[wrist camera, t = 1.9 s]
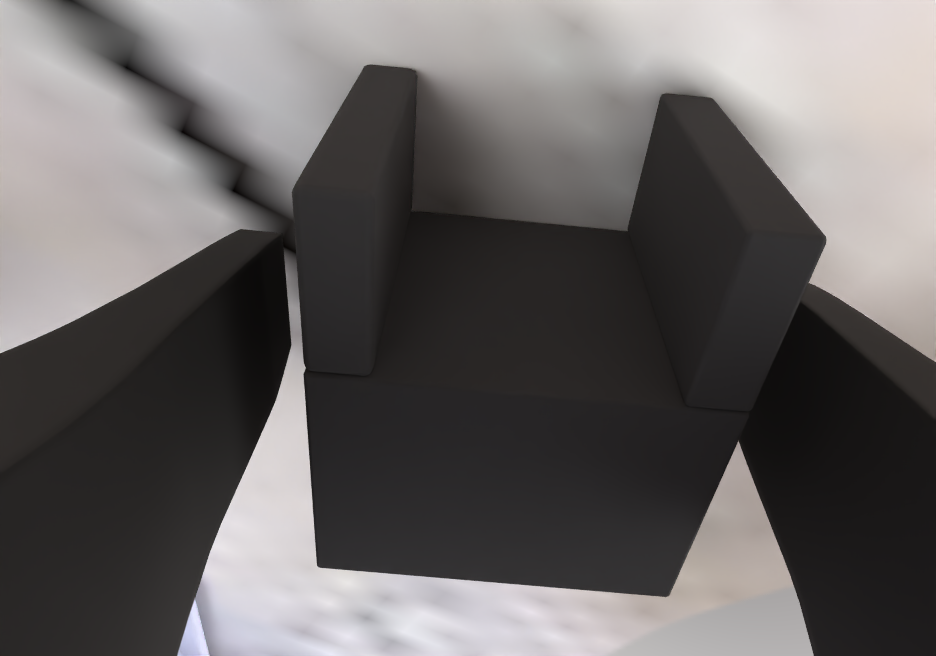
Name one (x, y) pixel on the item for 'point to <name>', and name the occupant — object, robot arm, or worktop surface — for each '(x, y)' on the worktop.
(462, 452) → the pad
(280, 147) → the worktop surface
